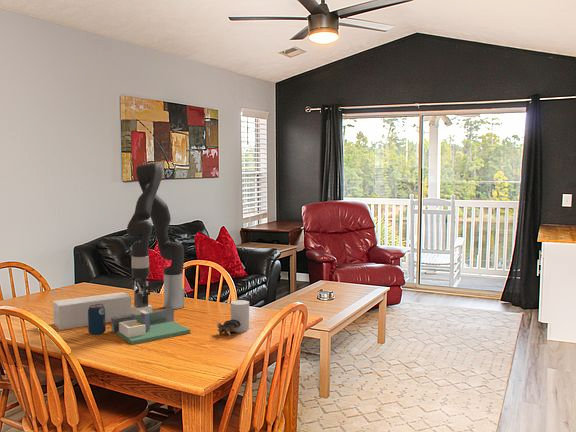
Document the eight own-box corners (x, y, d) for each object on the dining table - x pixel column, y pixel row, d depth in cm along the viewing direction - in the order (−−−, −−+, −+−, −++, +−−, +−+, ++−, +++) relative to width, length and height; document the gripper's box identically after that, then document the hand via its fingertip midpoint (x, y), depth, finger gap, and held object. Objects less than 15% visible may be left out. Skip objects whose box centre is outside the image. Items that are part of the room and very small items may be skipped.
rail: (170, 320, 255) (170, 307, 255) (173, 321, 253) (173, 309, 252) (111, 331, 238) (111, 317, 237) (114, 332, 235) (113, 319, 235)
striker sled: (147, 319, 249) (147, 290, 248) (162, 327, 237) (162, 297, 236) (130, 322, 244) (130, 293, 243) (145, 330, 232) (144, 299, 231)
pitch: (173, 324, 249) (173, 321, 249) (190, 332, 236) (190, 329, 236) (117, 334, 233) (117, 331, 233) (132, 344, 220) (132, 341, 220)
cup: (252, 327, 245) (252, 301, 244) (244, 332, 237) (244, 305, 236) (235, 325, 248) (235, 299, 246) (227, 330, 240) (227, 303, 239)
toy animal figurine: (225, 336, 228) (243, 329, 233) (218, 320, 230) (236, 313, 235) (219, 341, 234) (237, 334, 239) (213, 326, 236) (231, 319, 241)
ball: (130, 324, 232) (133, 332, 233) (134, 326, 229) (137, 334, 230) (139, 319, 234) (141, 328, 235) (142, 322, 231) (145, 330, 232)
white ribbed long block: (59, 330, 240) (58, 305, 239) (53, 324, 248) (53, 301, 247) (131, 318, 258) (131, 296, 257) (123, 313, 267) (123, 292, 266)
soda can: (108, 333, 235) (108, 305, 233) (93, 337, 230) (92, 308, 229) (100, 330, 239) (100, 303, 238) (85, 333, 234) (84, 305, 233)
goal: (136, 328, 237) (135, 319, 236) (145, 334, 229) (145, 324, 229) (119, 331, 232) (118, 322, 232) (128, 337, 224) (128, 328, 224)
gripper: (155, 267, 239) (155, 304, 240) (141, 262, 250) (142, 298, 252) (138, 269, 234) (139, 306, 236) (125, 264, 245) (126, 300, 247)
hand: (141, 302), depth 244 cm, fingers open, 8 cm apart
